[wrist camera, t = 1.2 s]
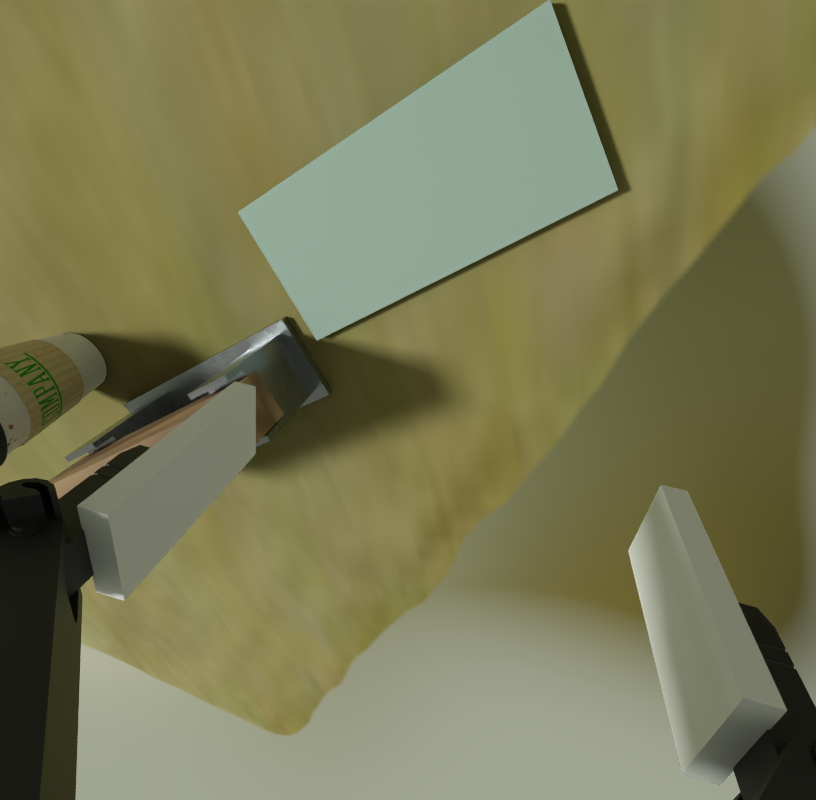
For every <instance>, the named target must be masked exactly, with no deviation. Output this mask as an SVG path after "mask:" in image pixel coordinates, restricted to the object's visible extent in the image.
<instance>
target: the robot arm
mask: <svg viewBox="0 0 816 800" xmlns="http://www.w3.org/2000/svg"><path fill="white" fill-rule="evenodd" d="M255 454H256V386H252V385H248V384H244V383H239V382H235V381H234V382H233V383H232V384H230V385H229V386H228V387H227V388H225V389H224V390H223V391H222V392H220V393H219V394H218V395H217V396H215V397H214V398H213V399H212V400H210V401H209V402H208V403H206V404H205V405H204V406H203V407H201V408H200V409H199V410H198V411H196V412H195V413H194V414H193V415H191V416H190V417H189V418H188V419H186V420H185V421H184V422H182V423H181V424H180V425H179V426H177V427H176V428H175V429H174V430H172V431H171V432H170V433H169V434H167V435H166V436H165V437H164V438H162V439H161V440H160V441H158V442H157V443H156V444H155V445H153V446H152V447H151V448H150V447H146V446H143V445H139V446H136V447H134V448H131V449H129V450H126V451H124V452H121V453H120V454H118V455H117V456H116V457H114V458H113V459H112V460H110V461H109V462H108V463H106V466H102V467H101V468H100V469H98V470H97V471H96V472H94V475H90V476H89V477H88V478H86V479H85V480H84V481H82V482H81V483H80V484H78V485H77V486H76V487H74V488H73V489H72V490H70V491H69V492H68V493H66V494H65V495H63V496H62V497H61V498H59V499H58V496H57V492H56V489H55V486H54V484H52V483H51V482H49V481H48V480H43V479H38V478H33V479H21V480H17V481H13V482H9V483H7V484H4V485H2V486H0V800H75V793H76V765H77V764H76V763H77V736H78V707H79V678H80V648H81V621H82V593H81V589H80V587H81V586H82V585H83V584H84V583H85V582H86V581H87V580H89V579H90V578H91V577H92V576H93V579H94V584H95V588H96V592H98V593H101V594H104V595H107V596H111V597H114V598H117V599H120V600H123V601H125V600H126V598H127V597H128V596H129V595H130V594H131V593H132V592H133V591H134V590H135V588H136V587H137V586H138V585H139V584H140V583H141V582H142V581H143V579H144V578H145V577H146V576H147V575H148V574H149V573H150V572H151V571H152V569H153V568H154V567H155V566H156V565H157V564H158V563H159V562H160V560H161V559H162V558H163V557H164V556H165V555H166V554H167V553H168V552H169V550H170V549H171V548H172V547H173V546H174V545H175V544H176V543H177V541H178V540H179V539H180V538H181V537H182V536H183V535H184V534H185V533H186V531H187V530H188V529H189V528H190V527H191V526H192V525H193V524H194V522H195V521H196V520H197V519H198V518H199V517H200V516H201V515H202V514H203V512H204V511H205V510H206V509H207V508H208V507H209V506H210V505H211V504H212V502H213V501H214V500H215V499H216V498H217V497H218V496H219V495H220V493H221V492H222V491H223V490H224V489H225V488H226V487H227V486H228V485H229V483H230V482H231V481H232V480H233V479H234V478H235V477H236V476H237V474H238V473H239V472H240V471H241V470H242V469H243V468H244V467H245V466H246V464H247V463H248V462H249V461H250V460H251V459H252V458H253V457H254V455H255ZM628 552H629V556H630V560H631V564H632V569H633V572H634V577H635V581H636V585H637V589H638V593H639V598H640V602H641V606H642V610H643V614H644V618H645V622H646V626H647V630H648V635H649V639H650V643H651V647H652V651H653V655H654V659H655V664H656V668H657V672H658V676H659V680H660V684H661V688H662V692H663V696H664V701H665V705H666V709H667V713H668V717H669V721H670V725H671V730H672V734H673V738H674V742H675V746H676V750H677V754H678V758H679V762H680V767H681V771H682V774H685V775H688V776H691V777H695V778H698V779H701V780H704V781H708V782H711V783H714V784H717V785H721V784H722V783H723V782H724V781H725V779H726V778H727V777H728V776H729V775H730V774H731V773H732V772H733V771H734V773H735V776H736V779H737V782H738V785H739V788H740V791H741V792H740V793H739V794H738V795H737V796H736V797H735V798H734V799H733V800H816V707H815V705H814V704H813V701H812V700H811V698H810V696H809V694H808V692H807V690H806V688H805V686H804V684H803V682H802V680H801V678H800V676H799V674H798V672H797V670H796V669H794V664H793V662H792V660H791V658H790V656H789V654H788V653H787V652H785V646H784V644H783V643H782V641H781V639H780V637H779V635H778V633H777V631H776V629H775V627H774V626H773V625H772V624H771V623H770V622H769V621H768V619H767V618H766V617H765V616H764V615H763V614H762V613H761V612H760V610H759V609H758V608H756V607H752V606H748V605H745V604H741V603H738V602H737V599H736V597H735V595H734V593H733V590H732V588H731V586H730V584H729V582H728V579H727V577H726V575H725V573H724V571H723V568H722V566H721V564H720V562H719V560H718V558H717V555H716V553H715V551H714V549H713V547H712V544H711V542H710V540H709V538H708V536H707V534H706V532H705V529H704V527H703V525H702V523H701V520H700V518H699V516H698V514H697V511H696V509H695V507H694V505H693V503H692V500H691V498H690V496H689V494H688V492H687V491H685V490H681V489H676V488H672V487H668V486H664V485H661V486H660V488H659V490H658V492H657V494H656V496H655V498H654V500H653V502H652V504H651V506H650V508H649V510H648V512H647V514H646V516H645V518H644V520H643V522H642V524H641V526H640V528H639V530H638V532H637V534H636V536H635V538H634V540H633V542H632V544H631V546H630V548H629V550H628Z"/></svg>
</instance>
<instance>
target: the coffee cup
mask: <svg viewBox="0 0 816 800" xmlns="http://www.w3.org/2000/svg"><path fill="white" fill-rule="evenodd" d="M106 371H107V370H106V364H105V361H104V359H103V357H102V355H101V353H100V352H99V350H98V349H97V348H96V347H95V345H94V344H93V343H91V342H90V341H89V340H88V339H86V338H85V337H83V336H81V335H79V334H75V333H68V332H67V333H62V334H58V335H55V336H51V337H47V338H43V339H39V340H29V341H25V342H21V343H17V344H13V345H9V346H5V347H1V348H0V466H1V465H2V464H3V463H4V461H5V459H6V457H7V455H8V454H9V453H10V452H12V451H13V450H14V449H15V448H17V447H19V446H22V445H24V444H25V443H27V442H28V441H29V440H31V439H32V438H33V437H34V436H36V435H37V434H38V433H40V432H41V431H42V430H44V429H45V428H46V427H48V426H49V425H50V424H51V423H53V422H54V421H55V420H57V419H58V418H59V417H61V416H62V415H63V414H65V413H66V412H67V411H68V410H70V409H71V408H72V407H74V406H75V405H76V404H77V403H79V402H80V400H81V399H82V398H83V397H85V396H86V395H87V394H89V393H90V392H91V391H93V390H94V389H95V388H97V387H98V386H99V385H100V384H102V383H103V381H104V380H105V378H106Z"/></svg>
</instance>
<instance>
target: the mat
mask: <svg viewBox="0 0 816 800" xmlns="http://www.w3.org/2000/svg"><path fill="white" fill-rule="evenodd" d="M616 191H618V188H617V185H616V182H615V180H614V177H613V174H612V171H611V168H610V166H609V163H608V160H607V157H606V154H605V152H604V149H603V146H602V143H601V140H600V138H599V135H598V132H597V129H596V127H595V124H594V121H593V118H592V115H591V113H590V110H589V107H588V104H587V101H586V99H585V96H584V93H583V90H582V87H581V85H580V82H579V79H578V76H577V74H576V71H575V68H574V65H573V62H572V60H571V57H570V54H569V51H568V48H567V46H566V43H565V40H564V37H563V34H562V32H561V29H560V26H559V23H558V21H557V18H556V15H555V12H554V9H553V7H552V4H551V1H550V0H548V1H547V2H545V3H544V4H542V5H541V6H539V7H538V8H536V9H535V10H533V11H532V12H530V13H529V14H528V15H526V16H525V17H523V18H522V19H520V20H519V21H517V22H516V23H514V24H513V25H511V26H510V27H508V28H507V29H506V30H504V31H503V32H501V33H500V34H498V35H497V36H495V37H494V38H492V39H491V40H489V41H488V42H487V43H485V44H484V45H482V46H481V47H479V48H478V49H476V50H475V51H473V52H472V53H470V54H469V55H467V56H466V57H465V58H463V59H462V60H460V61H459V62H457V63H456V64H454V65H453V66H451V67H450V68H448V69H447V70H445V71H444V72H443V73H441V74H440V75H438V76H437V77H435V78H434V79H432V80H431V81H429V82H428V83H426V84H425V85H423V86H422V87H421V88H419V89H418V90H416V91H415V92H413V93H412V94H410V95H409V96H407V97H406V98H404V99H403V100H402V101H400V102H399V103H397V104H396V105H394V106H393V107H391V108H390V109H388V110H387V111H385V112H384V113H382V114H381V115H380V116H378V117H377V118H375V119H374V120H372V121H371V122H369V123H368V124H366V125H365V126H363V127H362V128H360V129H359V130H358V131H356V132H355V133H353V134H352V135H350V136H349V137H347V138H346V139H344V140H343V141H341V142H340V143H339V144H337V145H336V146H334V147H333V148H331V149H330V150H328V151H327V152H325V153H324V154H322V155H321V156H319V157H318V158H317V159H315V160H314V161H312V162H311V163H309V164H308V165H306V166H305V167H303V168H302V169H300V170H299V171H297V172H296V173H295V174H293V175H292V176H290V177H289V178H287V179H286V180H284V181H283V182H281V183H280V184H278V185H277V186H275V187H274V188H273V189H271V190H270V191H268V192H267V193H265V194H264V195H262V196H261V197H259V198H258V199H256V200H255V201H254V202H252V203H251V204H249V205H248V206H246V207H245V208H243V209H242V210H240V211H239V212H238V213H239V215H240V217H241V218H242V220H243V221H244V223H245V225H246V226H247V228H248V230H249V231H250V233H251V234H252V236H253V238H254V239H255V241H256V243H257V244H258V246H259V247H260V249H261V251H262V252H263V254H264V256H265V257H266V259H267V260H268V262H269V264H270V265H271V267H272V269H273V270H274V272H275V274H276V275H277V277H278V278H279V280H280V282H281V283H282V285H283V287H284V288H285V290H286V291H287V293H288V295H289V296H290V298H291V300H292V301H293V303H294V304H295V306H296V308H297V309H298V311H299V313H300V314H301V316H302V317H303V319H304V321H305V322H306V324H307V326H308V327H309V329H310V330H311V332H312V334H313V335H314V337H315V339H316V340H319V339H321V338H323V337H325V336H327V335H329V334H331V333H333V332H335V331H337V330H339V329H341V328H343V327H345V326H347V325H349V324H351V323H353V322H355V321H357V320H359V319H361V318H363V317H365V316H367V315H369V314H371V313H373V312H375V311H377V310H379V309H381V308H383V307H385V306H387V305H389V304H391V303H393V302H395V301H397V300H399V299H401V298H403V297H405V296H407V295H409V294H411V293H413V292H415V291H417V290H419V289H421V288H423V287H425V286H427V285H429V284H431V283H433V282H435V281H437V280H439V279H441V278H443V277H445V276H447V275H449V274H451V273H453V272H455V271H458V270H460V269H462V268H464V267H466V266H468V265H470V264H472V263H474V262H476V261H478V260H480V259H482V258H484V257H486V256H488V255H490V254H492V253H494V252H496V251H498V250H500V249H502V248H504V247H506V246H508V245H510V244H512V243H514V242H516V241H518V240H520V239H522V238H524V237H526V236H528V235H530V234H532V233H534V232H536V231H538V230H540V229H542V228H544V227H546V226H548V225H550V224H552V223H554V222H556V221H558V220H560V219H562V218H564V217H566V216H568V215H570V214H572V213H574V212H576V211H578V210H580V209H582V208H584V207H586V206H588V205H590V204H592V203H594V202H596V201H598V200H600V199H602V198H604V197H606V196H608V195H610V194H612V193H614V192H616Z"/></svg>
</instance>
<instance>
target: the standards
mask: <svg viewBox="0 0 816 800" xmlns="http://www.w3.org/2000/svg"><path fill="white" fill-rule="evenodd" d="M255 371H256V373H257V374H258V376H259V377H260V379H261V380H262V382H263V383H264V385H265V386H266V388H267V389H268V391H269V392H270V394H271V395H272V397H273V398H274V400H275V401H276V403H277V404H278V406H279V407H280V408H281V410H282V411H283V413H284V414H283V416H282V417H281V418H280V419H279V420H278V421H277V422H276V423H275V424H274V425H273V426H272V428H271V429H270V430H269V431H268V432H267V433H266V434H265V435H264V436H263V437H262V438H261V440H260V441H259V442H258V443H257V444H256V447H257V446H259V445H262V444H264V443H267V442H269V441H271V440H272V438H273V437H274V436H275V435H276V434H277V433H278V432H279V430H280V429H281V428H282V427H283V426H284V425H285V424H286V422H287V421H288V420H289V419H290V418H291V417H292V416H293V414H294V413H295V412H296V411H297V410H298V409H299V408H301V407H303V406H305V405H307V404H310V403H312V402H314V401H317V400H319V399H321V398H323V397H326V396H328V395H330V393H331V392H332V390H331V388H330V387H329V385H328V383H327V382H326V380H325V379H324V377H323V375H322V374H321V372H320V371H319V369H318V367H317V366H316V364H315V363H314V361H313V360H312V358H311V356H310V355H309V353H308V352H307V350H306V348H305V347H304V345H303V344H302V342H301V340H300V339H299V337H298V336H297V334H296V332H295V331H294V329H293V328H292V326H291V324H290V323H289V321H288V320H287V318H286V317H284V318H283V319H281V320H279V321H277V322H275V323H273V324H271V325H270V326H268V327H266V328H264V329H262V330H260V331H258V332H257V333H255V334H253V335H251V336H249V337H247V338H246V339H244V340H242V341H240V342H238V343H236V344H234V345H233V346H231V347H229V348H227V349H225V350H223V351H221V352H220V353H218V354H216V355H214V356H212V357H210V358H209V359H207V360H205V361H203V362H201V363H199V364H197V365H196V366H194V367H192V368H190V369H188V370H186V371H185V372H183V373H181V374H179V375H177V376H175V377H173V378H172V379H170V380H168V381H166V382H164V383H162V384H160V385H159V386H157V387H155V388H153V389H151V390H149V391H148V392H146V393H144V394H142V395H140V396H138V397H136V398H135V399H133V400H131V401H129V402H127V403H126V404H124V406H125V407H126V408H127V410H128V411H129V412H130V414H128V415H127V416H125V417H124V418H123V419H121V420H120V421H118V422H117V423H115V424H114V425H112V426H111V427H109V428H108V429H106V430H105V431H103V432H102V433H100V434H99V435H97V436H96V437H94V438H93V439H91V440H90V441H88V442H87V443H85V444H84V445H82V446H81V447H79V448H78V449H76V450H75V451H73V452H72V453H70V454H69V455H67V456H66V457H65V458H66V460H67V461H68V462H69V461H71V460H73V459H75V458H77V457H79V456H81V455H83V454H85V453H87V452H88V453H89V454H91V453H93V452H95V451H97V450H99V449H101V448H103V447H105V446H107V445H109V444H111V443H113V442H115V441H117V440H119V439H121V438H123V437H125V436H127V435H129V434H131V433H133V432H135V431H137V430H139V429H141V428H143V427H145V426H147V425H149V424H151V423H153V422H155V421H157V420H159V419H161V418H163V417H165V416H167V415H169V414H171V413H173V412H175V411H177V410H179V409H181V408H183V407H185V406H187V405H189V404H191V403H193V402H195V401H197V400H199V399H201V398H203V397H205V396H207V395H209V394H211V393H213V392H215V391H217V390H219V389H221V388H223V387H225V386H227V385H229V384H231V383H233V382H234V381H237V380H239V379H241V378H243V377H245V376H247V375H249V374H251V373H253V372H255Z"/></svg>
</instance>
